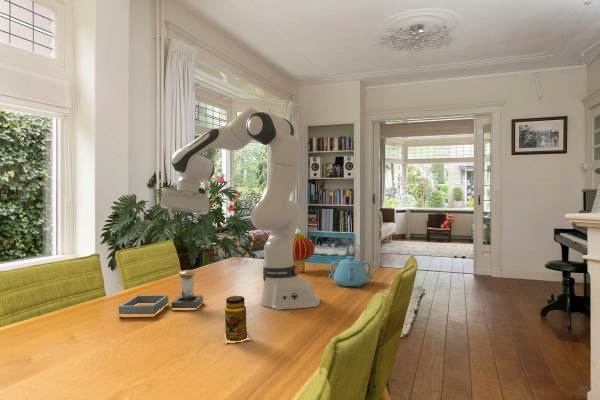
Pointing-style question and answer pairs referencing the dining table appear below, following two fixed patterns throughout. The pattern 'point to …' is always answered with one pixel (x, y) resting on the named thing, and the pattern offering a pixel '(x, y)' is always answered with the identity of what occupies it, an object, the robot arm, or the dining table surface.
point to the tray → (143, 309)
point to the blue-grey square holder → (187, 302)
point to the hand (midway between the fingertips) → (183, 220)
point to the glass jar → (187, 285)
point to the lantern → (302, 250)
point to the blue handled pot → (350, 272)
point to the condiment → (235, 319)
